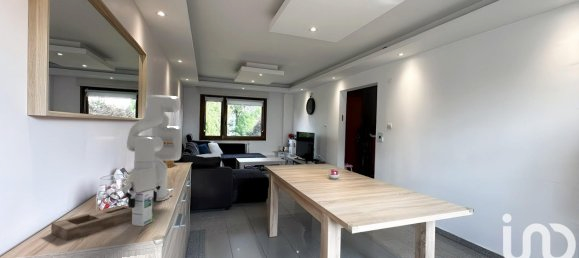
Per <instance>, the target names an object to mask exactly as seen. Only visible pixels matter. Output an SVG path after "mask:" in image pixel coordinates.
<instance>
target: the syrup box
mask: <svg viewBox="0 0 579 258" xmlns="http://www.w3.org/2000/svg"><path fill="white" fill-rule="evenodd" d="M134 198H135V207H134V208H132V219H131V225H132V226H137V227H144V226H146V225H149V224H150V223H152V222H154V202H153V190H149V191H144V192H140V193H137V194H136V195H135V196H134Z"/></svg>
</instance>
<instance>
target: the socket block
mask: <svg viewBox="0 0 579 258" xmlns="http://www.w3.org/2000/svg"><path fill="white" fill-rule="evenodd" d="M120 205H121V206H118V205H115V206H116V207H114V206H110V207H111V208H110V207H109V208H108V207H107V208H103V209H100V210H99V209H98V210H96V211H92V212H89V213H84V214H81V215H77V216H72V217H69V218H65V219H61V220H57V221H54V222H51V230H50V231H51V234H53V235H54V236H56V237H58V238H60V239H63V240H65V241H70V240H72V239H76V238H79V237H82V236H85V235H88V234H91V233H94V232H98V231H100V230H104V229H107V228H109V227H113V226H116V225H119V224H122V223H125V222H127V221H128V222H129V221H132V208H131V207H129V206H128V205H126V204H123V205H122V204H120Z"/></svg>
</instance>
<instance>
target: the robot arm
mask: <svg viewBox="0 0 579 258" xmlns="http://www.w3.org/2000/svg"><path fill="white" fill-rule="evenodd" d="M181 103H182V102H181V99H180V97H179V96H175V95H174V96H173V95H161V94H153V95H152V94H150V95H148V96H147V98H146V109H145V113H144V116H143V117H142V118H141V119H140V120H138V121H137V122H135V123H134V124H133V125H132V126H131V128H130V129H129V131H128V136H127V140H126V148H127V150H128V151H129V152H133V153H134V160H133V161H134V163H133V168H131V172H130V175H129V180H128V182H129V183H128V184H127V185H126V186H125V187H123V188H122V189H121V191H122V193H123V195H124V196H125V197H126V198H127V206H129V207H131V208H134V207H135V198H134V196H135V195H136V194H137V193H140V192H144V191H149V190H153V203H155V202H156V203H157V202H161V201H165V200H168V199H169V198H170V197H171V195H170V193H174V191H175V189H174V188H170V189H169V188H168V169H169V168H168V165H167V164H166V163H165V162H164V161H167V162H168V161H179V160H180V159H181V158H182V144H183V139H182V138H183V132H182V129H181V128H180V127H179V126H175V125H174V126H173V125H172V126H171V125H170V124H169V123H170V117H169V116H168V114H167V113H177V112H178V111H179V110H180V108H181ZM150 129H151V135H140V134H141V133H143V132H145V131H147V130H150ZM166 143H169V144H166ZM170 143H171V144H170Z"/></svg>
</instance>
